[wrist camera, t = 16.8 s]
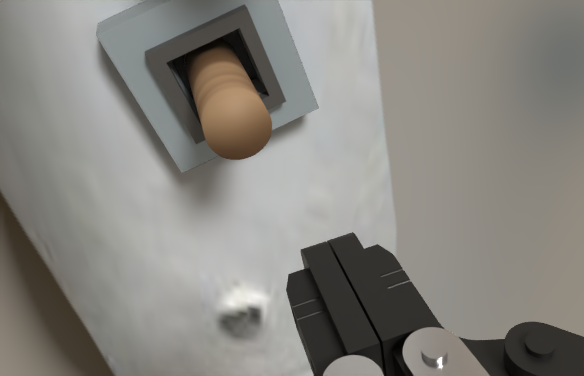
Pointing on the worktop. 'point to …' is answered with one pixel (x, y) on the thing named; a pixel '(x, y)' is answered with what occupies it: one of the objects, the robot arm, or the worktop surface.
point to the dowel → (227, 101)
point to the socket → (188, 36)
